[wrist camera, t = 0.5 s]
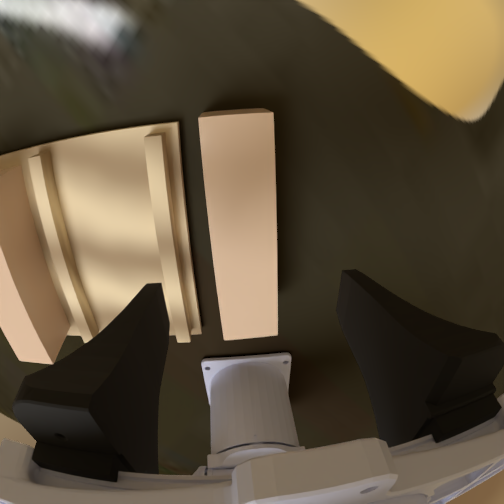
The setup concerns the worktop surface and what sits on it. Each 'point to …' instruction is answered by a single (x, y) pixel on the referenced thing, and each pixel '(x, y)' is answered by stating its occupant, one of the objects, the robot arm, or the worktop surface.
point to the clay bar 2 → (242, 217)
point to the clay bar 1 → (26, 279)
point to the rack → (113, 223)
